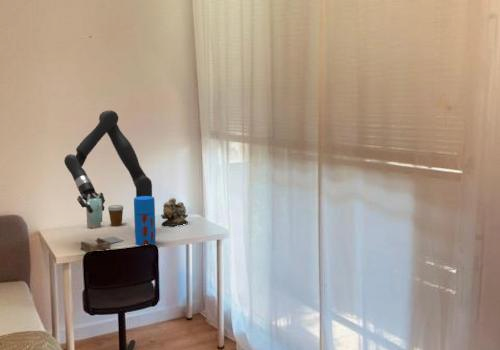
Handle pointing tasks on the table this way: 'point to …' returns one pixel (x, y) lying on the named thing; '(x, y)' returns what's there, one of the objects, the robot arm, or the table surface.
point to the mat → (112, 240)
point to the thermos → (144, 220)
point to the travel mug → (89, 224)
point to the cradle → (99, 246)
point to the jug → (96, 210)
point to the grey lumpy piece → (174, 213)
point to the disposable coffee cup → (116, 214)
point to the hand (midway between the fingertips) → (97, 211)
